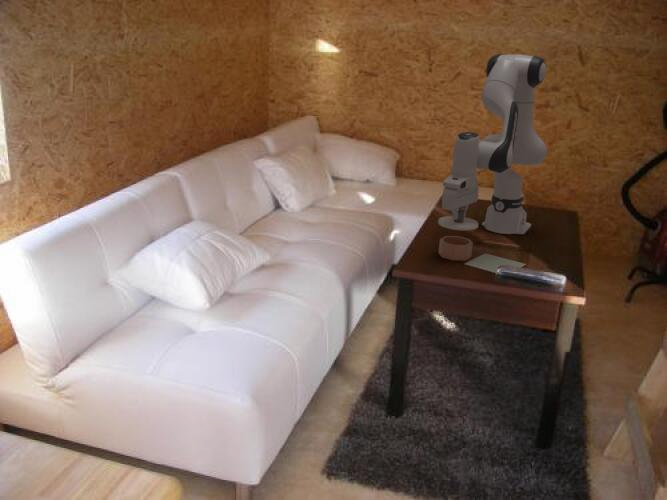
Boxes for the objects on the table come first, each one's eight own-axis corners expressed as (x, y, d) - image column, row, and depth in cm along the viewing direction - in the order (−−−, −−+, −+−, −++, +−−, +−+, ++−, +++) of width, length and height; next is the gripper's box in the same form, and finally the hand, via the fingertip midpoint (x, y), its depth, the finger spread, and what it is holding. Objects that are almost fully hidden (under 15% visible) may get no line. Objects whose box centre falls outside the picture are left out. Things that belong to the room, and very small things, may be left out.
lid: (450, 217, 240) (451, 203, 238) (484, 225, 231) (486, 211, 230) (431, 224, 229) (432, 210, 227) (466, 232, 221) (468, 218, 219)
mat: (484, 254, 238) (485, 253, 237) (526, 265, 228) (526, 264, 228) (463, 265, 226) (464, 263, 226) (506, 277, 216) (506, 275, 216)
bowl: (448, 249, 242) (450, 234, 240) (475, 256, 235) (477, 241, 233) (433, 256, 234) (435, 240, 232) (460, 264, 227) (462, 247, 225)
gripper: (469, 174, 235) (464, 211, 239) (440, 182, 219) (436, 221, 224) (484, 177, 231) (480, 214, 235) (456, 185, 216) (452, 225, 220)
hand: (458, 217), depth 229 cm, fingers closed on lid, 3 cm apart
